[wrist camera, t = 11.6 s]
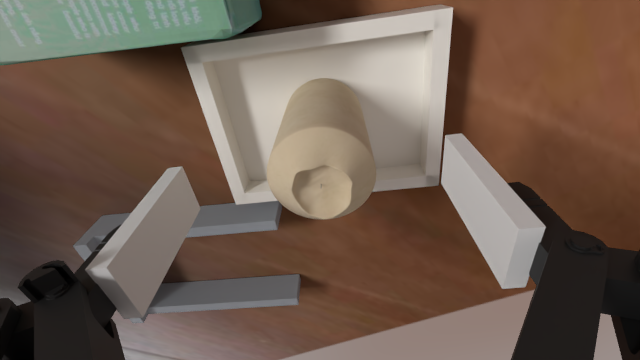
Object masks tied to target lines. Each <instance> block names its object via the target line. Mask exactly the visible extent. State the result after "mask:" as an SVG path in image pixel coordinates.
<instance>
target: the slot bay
mask: <svg viewBox="0 0 640 360" xmlns="http://www.w3.org/2000/svg"><path fill="white" fill-rule="evenodd" d="M200 208H201V209H200V211H199V213H198V215H197V217H196V219H195V220H194V222H193V224H192V226H191V228H190V230H189V232H188V234H187V236H186V237H198V236H210V235H221V234H233V233H245V232H257V231H268V230H278V225H279V220H280V216H281V211H282V205H281V203H280V202H279V201H270V202H259V203H249V204H238V205H236V203H228V204H218V205H207V206H200ZM130 214H131V213H123V214H113V215H102V216H101V217H100V218H99V219H98V220H97V221H96V222H95V223H94V224H93V226H92V227H91V228H90V229H89V230H88V231H87V232H86V233H85V234H84V235H83V236H82V237H81V238H80V239H79V240H78V241H77V242H76V243H75V244H74V245H73V247H74V248H75V249H76V251H77V252H78V253H79V255H80V256H81V257H82V258H83V260H84V261H86V259H87V258H88V257H89V256H90V255H91V253H92V252H94V251H95V249H96V247H97V246H98V245H99V244H101V242H102V240H103V239H104V238H105V237H106V236H107V234H108V233H109V232H111V231H112V230H113V229H115V228H116V227H117V226H119V225H122V224H123V223H124V221H125V220H126V219H127V218H128V217H129V215H130ZM186 237H185V238H186ZM300 283H301V279H300V275H299V274H293V275H279V276H265V277H251V278H237V279H223V280H208V281H194V282H180V283H166V284H161V285H160V286H159V288H158V290H157V292H156V294H155V296H154V298H153V300H152V302H151V303H150V305H149V307H148V309H147V311H146V313H145V315H144V317H142V318H129V319H130V320H131V322H132V323H144V321H145V319H146V317H147V316H148V314H154V313H170V312H187V311H203V310H219V309H236V308H252V307H269V306H285V305H298V303H299V293H300Z"/></svg>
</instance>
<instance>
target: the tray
mask: <svg viewBox="0 0 640 360" xmlns="http://www.w3.org/2000/svg"><path fill="white" fill-rule="evenodd" d="M452 16H453V7H449V6H445V5H434V6H427V7H420V8H413V9H407V10H400V11H393V12H387V13H380V14H373V15H367V16H360V17H353V18H346V19H340V20H333V21H326V22H320V23H313V24H306V25H300V26H293V27H286V28H280V29H273V30H266V31H259V32H253V33H246V34H239V35H234V36H232V37H230V38H226V39H208V40H200V41H194V42H192V43H190V44H188V45H186V46H183V47H181V50H182V53H183V56H184V59H185V61H186V64H187V67H188V70H189V73H190V76H191V78H192V81H193V84H194V87H195V90H196V93H197V95H198V98H199V101H200V104H201V107H202V110H203V112H204V115H205V118H206V121H207V124H208V127H209V129H210V132H211V135H212V138H213V141H214V144H215V146H216V149H217V152H218V155H219V158H220V161H221V164H222V166H223V169H224V172H225V175H226V178H227V181H228V183H229V186H230V189H231V192H232V195H233V198H234V200H235V203H236V205H238V204H249V203H259V202H270V201H278V200H277V199H276V198H275V196H274V195H273V193H272V191H271V189H270V187H269V184H268V180H267V165H268V160H269V157H270V154H271V151H272V148H273V145H274V142H275V139H276V136H277V133H278V130H279V127H280V125H281V122H282V119H283V116H284V113H285V110H286V107H287V104H288V102H289V99H290V98H291V96H292V94H293V93H294V92H295V91H296V90H297V89H298V88H299V87H300V86H301V85H303V84H305V83H306V82H308V81H311V80H314V79H319V78H328V79H334V80H337V81H339V82H342V83H343V84H345V85H346V86H348V87H349V88H350V89H351V90H352V91H353V92H354V94H355V95H356V96H357V98H358V100H359V102H360V105H361V108H362V112H363V116H364V120H365V124H366V128H367V132H368V136H369V140H370V144H371V149H372V153H373V157H374V161H375V166H376V182H375V186H374V188H373V191H372V192H376V191H386V190H397V189H407V188H418V187H428V186H439V175H440V162H441V150H442V138H443V126H444V113H445V101H446V89H447V77H448V65H449V52H450V40H451V28H452Z"/></svg>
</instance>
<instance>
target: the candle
mask: <svg viewBox="0 0 640 360" xmlns="http://www.w3.org/2000/svg"><path fill="white" fill-rule="evenodd" d="M267 180H268V184H269V187H270V189H271V191H272V193H273V195H274V196H275V198H276V199H277V200H278V201H279V202H280V203H281V204H282V205H283V206H284V207H285V208H287V209H288V210H290V211H292V212H293V213H295V214H298V215H300V216H303V217H306V218H311V219H333V218H338V217H341V216H344V215H347V214H349V213H351V212H353V211H355V210H356V209H357V208H359V207H360V206H361V205H362V204H363V203H364V202H365V201H366V200H367V199H368V198H369V196H370V194H371V193H372V191H373V188H374V186H375V182H376V166H375V161H374V157H373V153H372V149H371V144H370V140H369V136H368V132H367V128H366V124H365V120H364V116H363V112H362V108H361V105H360V102H359V100H358V98H357V96H356V95H355V94H354V92H353V91H352V90H351V89H350V88H349V87H348V86H346V85H345V84H343V83H342V82H339V81H337V80H334V79H328V78H319V79H314V80H311V81H308V82H306V83H305V84H303V85H301V86H300V87H299V88H298V89H297V90H296V91H295V92H294V93H293V94H292V96H291V98H290V99H289V102H288V104H287V107H286V110H285V113H284V116H283V119H282V122H281V125H280V127H279V130H278V133H277V136H276V139H275V142H274V145H273V148H272V151H271V154H270V157H269V160H268V165H267Z"/></svg>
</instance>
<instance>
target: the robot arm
mask: <svg viewBox="0 0 640 360" xmlns="http://www.w3.org/2000/svg"><path fill="white" fill-rule="evenodd" d="M441 184H442V186H443V187H444V189H445V191H446V192H447V194H448V196H449V198H450V199H451V201H452V203H453V205H454V206H455V208H456V210H457V211H458V213H459V215H460V217H461V218H462V220H463V222H464V224H465V225H466V227H467V229H468V230H469V232H470V234H471V236H472V237H473V239H474V241H475V242H476V244H477V246H478V248H479V249H480V251H481V253H482V255H483V256H484V258H485V260H486V261H487V263H488V265H489V267H490V268H491V270H492V272H493V274H494V275H495V277H496V279H497V280H498V282H499V284H500V286H501V287H502V289H508V288H521V287H526V284H527V281H528V278H529V275H530V276H531V278H532V279H533V281H534V282H535V284H536V285H537V286H536V289H535V291H534V294H533V297H532V300H531V302H530V306H529V309H528V312H527V315H526V317H525V320H524V324H523V326H522V329H521V332H520V335H519V338H518V341H517V344H516V347H515V349H514V352H513V355H512V358H511V360H593V358H594V352H595V346H596V339H597V333H598V326H599V319H600V314H601V313H603V314H608V315H611V317H612V321H613V325H614V329H615V333H616V337H617V340H618V344H619V348H620V352H621V355H622V360H640V250H639V251H631V250H623V249H615V248H609V247H607V246H606V245H605V244H604V243H603V242H602V241H601V240H599V239H598V238H596V237H594V236H592V235H589V234H587V233H584V232H579V231H574V230H572V229H571V228H570V227H569V226H568V225H567V224H566V223H565V222H564V221H563V220H562V219H561V218H560V217H559V216H558V215H557V214H556V213H555V212H554V211H553V210H552V209H551V208H550V207H549V206H547V204H546V203H545V202H544V201H543V200H542V199H540V197H539V196H538V195H537V194H536V193H535V192H534V191H533V190H532V189H531V188H529V187H527V186H525V185H523V184H522V183H520V182H514V183H506V182H505V181H504V180H503V178H502V177H501V176H500V175H499V174H498V173H497V172H496V171H495V170H494V168H493V167H492V166H491V165H490V164H489V163H488V162H487V161H486V160H485V158H484V157H483V156H482V155H481V154H480V153H479V152H478V151H477V150H476V148H475V147H474V146H473V145H472V144H471V143H470V142H469V141H468V140H467V138H466V137H465V136H464V135H463V134H462V133H460V134H451V135H445V144H444V156H443V167H442V178H441ZM200 209H201V208H200V206H199V204H198V201H197V199H196V197H195V194H194V192H193V190H192V188H191V185H190V183H189V181H188V178H187V176H186V174H185V172H184V169H183V167H173V168H168V169H167V170H166V171H165V172H164V174H163V175H162V176H161V177H160V179H159V180H158V181H157V182H156V183H155V185H154V186H153V187H152V188H151V190H150V191H149V192H148V193H147V194H146V196H145V197H144V198H143V199H142V201H141V202H140V203H139V204H138V205H137V207H136V208H135V209H134V210H133V212H132V213H131V214H130V215H129V217H128V218H127V219H126V220H125V221H124V223H123V224H122V225H119V226H117V227H116V228H115V229H113V230H112V231H111V232H109V233H108V234H107V236H106V237H105V238H104V239H103V240H102V242H101V244H99V245H98V246H97V247H96V249H95V251H94V252H92V253H91V255H90V256H89V257H88V258H87V259H86V261H85V262H84V263H83V264H82V265H81V266H80V268H79V269H78V270H77V271H76V272H75V274H74V273H73V272H72V271H71V270H70V269H69V267H68V266H67V265H66V264H65V263H64V261H59V260H57V261H51V262H49V263H46V264H43V265H41V266H39V267H38V268H36V269H34V270H33V271H31V272H30V273H29V274H27V275H26V276H25V277H24V278H23V279H22V281H21V282H20V284H19V286H18V288H19V289H20V290H21V291H22V292H23V293H24V294H25V295H26V296H27V297H28V298H29V299H30V300H31V302H28V303H25V304H22V305H19V306H16V305H15V304H14V303H13V302H12V301H11V300H10V299H9V298H1V299H0V360H125V358H124V354H123V350H122V346H121V343H120V339H119V335H118V332H117V328H116V324H115V323H114V321H113V320H112V319H111V317H112V316H113V314H114V312H115V311H116V309H117V311H118V312H119V313H120V314H121V316H122V317H123V318H124V319H129V318H142V317H144V315H145V313H146V311H147V309H148V307H149V305H150V303H151V302H152V300H153V298H154V296H155V294H156V292H157V290H158V288H159V286H160V285H161V283H162V281H163V279H164V277H165V275H166V273H167V271H168V269H169V268H170V266H171V264H172V262H173V260H174V258H175V256H176V254H177V253H178V251H179V249H180V247H181V245H182V243H183V241H184V239H185V237H186V236H187V234H188V232H189V230H190V228H191V226H192V224H193V222H194V220H195V219H196V217H197V215H198V213H199V211H200Z"/></svg>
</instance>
